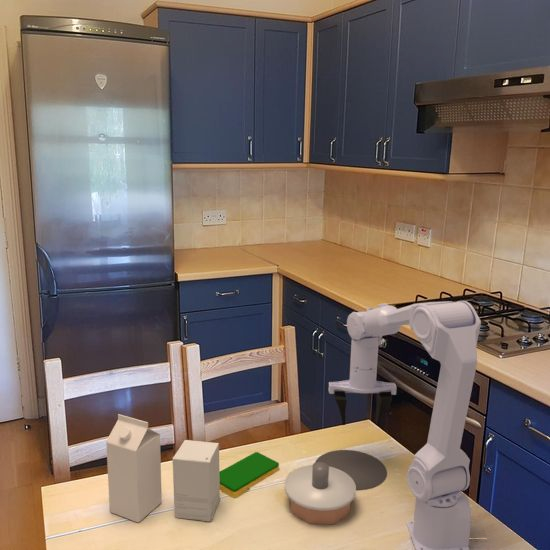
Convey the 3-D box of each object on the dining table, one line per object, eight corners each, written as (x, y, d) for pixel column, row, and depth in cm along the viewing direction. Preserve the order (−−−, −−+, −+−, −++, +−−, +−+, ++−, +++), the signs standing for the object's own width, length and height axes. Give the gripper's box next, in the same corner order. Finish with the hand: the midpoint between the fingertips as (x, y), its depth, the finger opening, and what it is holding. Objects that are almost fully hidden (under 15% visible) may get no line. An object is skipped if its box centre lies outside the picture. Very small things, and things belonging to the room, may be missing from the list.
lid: (350, 469, 116) (352, 448, 115) (360, 511, 102) (361, 488, 101) (284, 467, 116) (284, 446, 115) (284, 509, 102) (285, 486, 101)
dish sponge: (279, 473, 122) (280, 463, 122) (234, 500, 112) (234, 489, 111) (256, 460, 127) (256, 451, 126) (210, 486, 117) (210, 475, 116)
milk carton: (133, 493, 113) (130, 406, 109) (162, 503, 110) (159, 414, 106) (109, 512, 107) (104, 422, 103) (138, 523, 104) (135, 430, 100)
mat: (379, 451, 131) (379, 450, 130) (394, 492, 115) (394, 490, 115) (311, 450, 130) (311, 449, 130) (317, 491, 115) (317, 489, 115)
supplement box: (220, 499, 112) (220, 442, 109) (210, 523, 104) (209, 462, 102) (185, 495, 113) (184, 438, 110) (172, 518, 106) (171, 458, 103)
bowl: (344, 489, 116) (345, 472, 115) (352, 525, 104) (353, 507, 103) (289, 489, 115) (289, 471, 115) (291, 525, 104) (292, 506, 103)
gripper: (393, 359, 123) (389, 415, 126) (328, 358, 123) (325, 414, 126) (400, 371, 117) (396, 430, 120) (331, 370, 116) (328, 429, 119)
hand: (360, 423), depth 122 cm, fingers open, 7 cm apart
